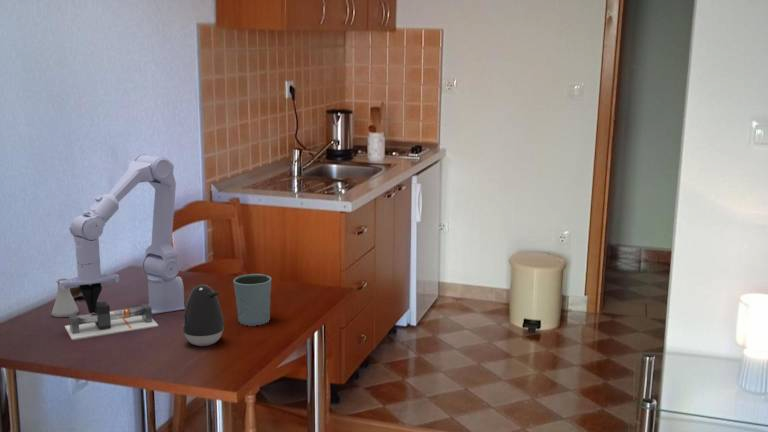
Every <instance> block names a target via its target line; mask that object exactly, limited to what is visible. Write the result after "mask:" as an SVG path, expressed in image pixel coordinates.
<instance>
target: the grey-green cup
mask: <svg viewBox="0 0 768 432" xmlns="http://www.w3.org/2000/svg"><path fill="white" fill-rule="evenodd" d="M232 282H233V288H234V295H235V302H236V309H237V311H236V313H237V321H238V323H239V322H240V323H241V324H240V323H239V324H240V325H242V324H244V325H243V326H246V325H248V326H249V327H257V326H256V325H259V326H262V325H261V324H263V325H266V324H268V323H269V322H270V321H271V309H270V308H271V294H272V291H271V290H272V277H271V276H269V275H267V274H264V273H263V274H262V273H261V274H260V273H250V274H249V273H248V274H243V275H242V274H241V275H239V276H236V277H235V278H234V279H233V281H232ZM269 320H270V321H269ZM267 322H268V323H267ZM265 323H266V324H265ZM248 326H247V327H248Z"/></svg>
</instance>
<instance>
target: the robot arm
mask: <svg viewBox="0 0 768 432" xmlns="http://www.w3.org/2000/svg"><path fill="white" fill-rule="evenodd" d="M146 182H147V183H149V184H150V185H151V186H152V188H153V189H154V202H153V203H154V204H153V215H152V232H151V244H150V245H149V246H148V247H146V249H145V253H144V257H143V259H142V261H141V270H142V271H143V273H144V274H146V278H147V287H148V303H147V304H148V305H149V306H150V307H151V308H152V315H155V314H162V313H168V312H174V311H175V312H176V311H181V310H185V307H186V306H185V292H184V291H185V290H184V289H185V288H184V283H183V279H182V277H181V276H179V275H178V274H179V271H180V263H179V260H178V259H179V258H178V252H177V251H176V249H175V248H174V247H173V246H172V244H173V243H172V242H173V228H174V216H175V214H174V213H175V202H176V189H177V188H176V185H177V183H176V179H175V175H174V164H173V163H172V162H171V161H170V159H168V158H167V157H165V156H155V155H154V156H153V155H148V154H143V153H142V154H138V155H137V156H135V157H134V159H133V160H132V161H131V162H129V164H128V169H127V170H126V171H125V173H123V175H122V176H121V177H120V178H119V180H118V181H117V182H116V184H115V185H114V186H113V187H112V188H111V190H110V191H109V192H108V193H107V194H106V193H104V194H101V195H97V196H96V197H95V199H94V200H95V201H94V202H93V203H92V204H91V205H90V206H89V207H88V208H87V209H85V210H83V212H82V213H83V214H81V215H77V216H76V217H75V218H73V220H72V222H71V224H70V227H68V228H69V233H70V234H71V235H72V236H73V240H74V243H75V257H76V269H77V270H76V271H77V277H73V278H67V279H68V280H62V281H60V289H61V290H64V289H66V288H74V287H79V289H80V290H81V292H82V294H83V296H84V297H83V296H82V297H83V298H84V300H85V304H86V305H87V311H88V314H93V313H95V308H96V303H97V302H98V300H99V297H100V295H101V292H102V290H103V286H102V285H103V284H104V285H105V284H113V283H120V275H119V274H118V273H110V274H109V273H107V274H105V273H104V274H102V271H101V269H102V268H101V259H100V258H101V257H100V255H101V253H100V241H99V237H101V236H102V235H103V232H104V227H105V226H106V223H108V221H110V219H111V218H112V217H113V216H114V215H115V213H116V212H117V211H119V202H121V201H122V200H123V199H124V198H125V197H126V196H127V195H128V194H129V193H130V192H131V191H132V190H134V188H135V187H137V186H138V185H139V184H140V183H146Z"/></svg>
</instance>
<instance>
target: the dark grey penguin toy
mask: <svg viewBox="0 0 768 432" xmlns="http://www.w3.org/2000/svg"><path fill="white" fill-rule="evenodd" d="M219 294H220V293H219V291H217V290H216V291H214V290H213V289H212V288H211V287H210V286H208V285H207V284H199V285H196V286H195V287H193V289H192V290H191V292H190V294H189V296H188V299H187V301H186V305H185V306H184V307H185V309H184V313H183V320H182V333H184V337H185V339H186V340H187V341H188V342H189V343H190V344H192V345H194V346H198V347H206V346H207V347H208V346H212V345H214V344H215V343H216V342H218V341H219V340H220V338H221V336H222V335H223V331H224V329H225V324H224V323H225V322H224V317H223V312H222V309H221V305H220V302H219V300H218V297H217V296H219Z"/></svg>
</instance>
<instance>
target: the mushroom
mask: <svg viewBox="0 0 768 432" xmlns="http://www.w3.org/2000/svg"><path fill="white" fill-rule="evenodd" d="M69 289H70V292H71V295H72V297H73V299H76V298H79V297H83V298H84V296H83V294H82V292H81V290H80V289H79V287H74V288H69Z"/></svg>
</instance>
